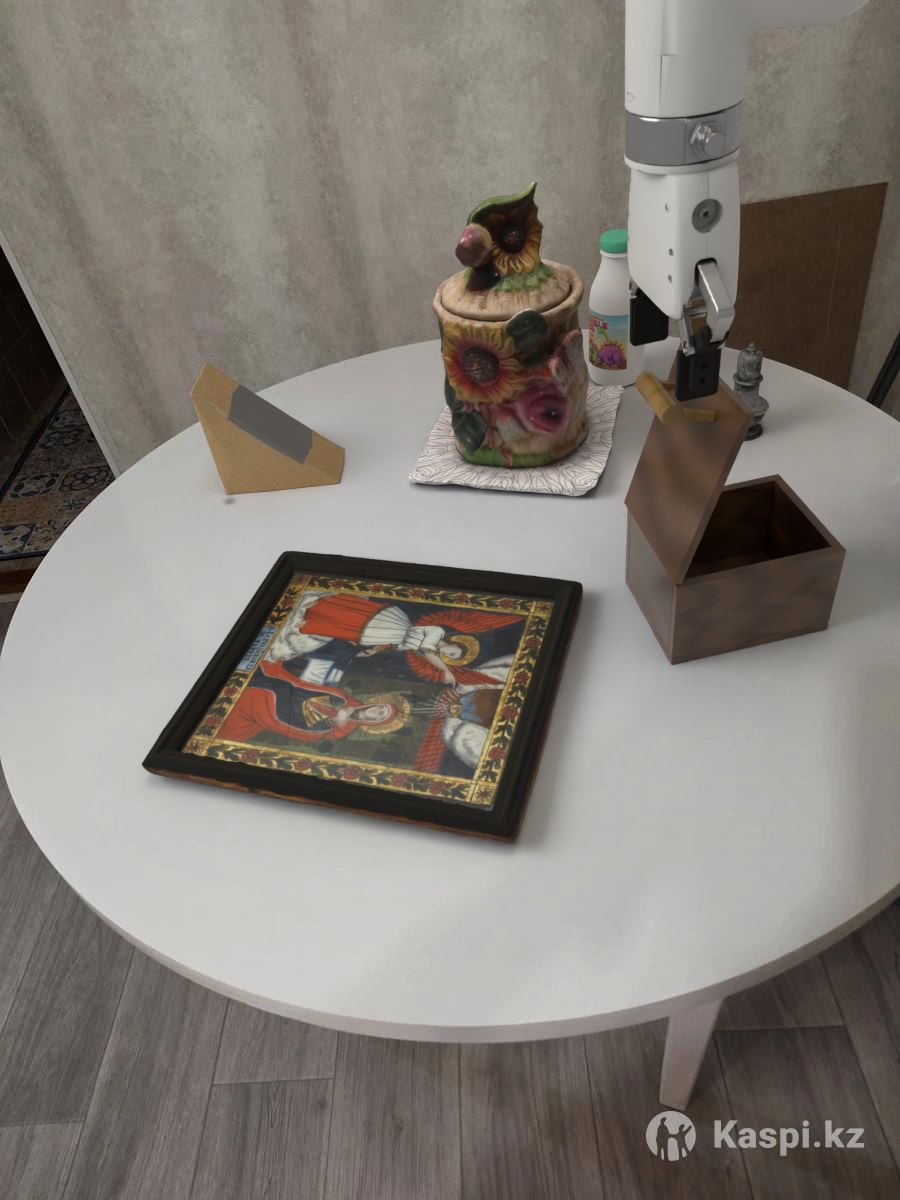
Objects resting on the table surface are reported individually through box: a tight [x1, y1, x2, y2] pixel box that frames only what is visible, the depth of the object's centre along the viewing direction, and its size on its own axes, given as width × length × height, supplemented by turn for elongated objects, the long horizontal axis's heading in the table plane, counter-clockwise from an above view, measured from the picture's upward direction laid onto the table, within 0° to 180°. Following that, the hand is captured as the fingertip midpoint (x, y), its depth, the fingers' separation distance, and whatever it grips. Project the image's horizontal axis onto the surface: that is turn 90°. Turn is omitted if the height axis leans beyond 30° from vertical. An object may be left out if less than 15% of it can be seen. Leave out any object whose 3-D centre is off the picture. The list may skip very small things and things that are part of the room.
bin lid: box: [623, 342, 755, 584], centre depth 75 cm, size 17×13×6 cm
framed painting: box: [141, 550, 584, 844], centre depth 84 cm, size 38×35×3 cm
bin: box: [624, 473, 847, 666], centre depth 85 cm, size 16×13×10 cm
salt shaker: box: [732, 341, 770, 442], centre depth 107 cm, size 6×6×12 cm
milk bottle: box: [588, 228, 646, 387], centre depth 118 cm, size 8×8×20 cm
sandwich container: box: [190, 361, 345, 495], centre depth 111 cm, size 9×15×15 cm, turn 90°
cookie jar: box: [408, 181, 624, 497], centre depth 104 cm, size 25×25×32 cm
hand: (671, 367), depth 69 cm, fingers open, 9 cm apart
